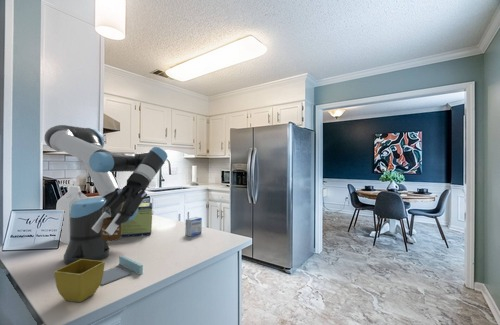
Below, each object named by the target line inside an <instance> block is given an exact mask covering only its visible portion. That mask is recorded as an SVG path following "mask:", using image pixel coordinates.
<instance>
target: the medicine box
mask: <svg viewBox="0 0 500 325" xmlns="http://www.w3.org/2000/svg"><path fill="white" fill-rule="evenodd" d="M202 221H203V219H202V217H200V216H195V217H194V216H193V217H190V218H186V219H185V228H184V229H185V234H184V235H185V236H188V237H194V236H197V235H200V234H202V229H203V228H202V225H203V222H202Z"/></svg>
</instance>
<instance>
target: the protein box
mask: <svg viewBox="0 0 500 325" xmlns="http://www.w3.org/2000/svg"><path fill="white" fill-rule="evenodd" d="M121 225H122V230H121V238H129V237H130V238H131V237H140V236H143V237H144V236H151V235H152V230H153V229H152V228H153V226H152V225H153V203H152V202H147V203H146V202H141V203H140V205H139V207H138V212H137V215H136V217H135V218H134V219H133V220H131V221H128V222H126V223H121Z"/></svg>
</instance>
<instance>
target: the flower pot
mask: <svg viewBox="0 0 500 325" xmlns="http://www.w3.org/2000/svg"><path fill="white" fill-rule="evenodd" d="M105 265H106V261H105V260H100V261H97V260H87V259H80V260H78V261H75V262H73V263H71V264H69V265H67V264H66V265H65V266H63V267H60V268H58V269H56V270H54V271H53V273H54V278H55V285H56V289H57V291H58V294H59V296H61V298H63V299H64V300H65V301H66V302H67V301H69V302H78V303H82V302H83V301H86V299H88V298H90V296H92V295H93V294H95V293H96V292H97V290H98V289H99V288H100V286H101V285H100V283H101V281H102V278H103V272H104V271H105Z"/></svg>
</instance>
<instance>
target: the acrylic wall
mask: <svg viewBox="0 0 500 325" xmlns="http://www.w3.org/2000/svg"><path fill="white" fill-rule="evenodd" d="M118 258H119V260H118V261H119V263H118V264H119V265H121V266H122V267H124V268H126V269H128V270H130V271H132V272H134V273H136V274H137V275H142V274H144V272H143V270H144V269H143V268H144V266H143V264H141V263H139V262H137V261H136V260H133V259H132V258H129V257H126V256H124V255H119V257H118Z"/></svg>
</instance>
